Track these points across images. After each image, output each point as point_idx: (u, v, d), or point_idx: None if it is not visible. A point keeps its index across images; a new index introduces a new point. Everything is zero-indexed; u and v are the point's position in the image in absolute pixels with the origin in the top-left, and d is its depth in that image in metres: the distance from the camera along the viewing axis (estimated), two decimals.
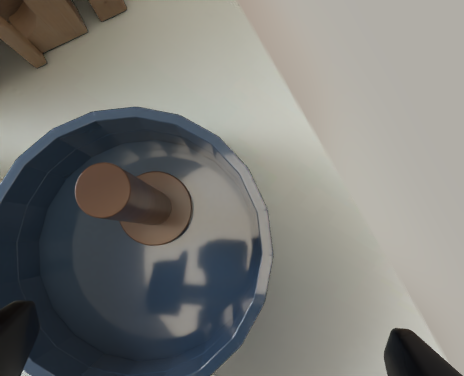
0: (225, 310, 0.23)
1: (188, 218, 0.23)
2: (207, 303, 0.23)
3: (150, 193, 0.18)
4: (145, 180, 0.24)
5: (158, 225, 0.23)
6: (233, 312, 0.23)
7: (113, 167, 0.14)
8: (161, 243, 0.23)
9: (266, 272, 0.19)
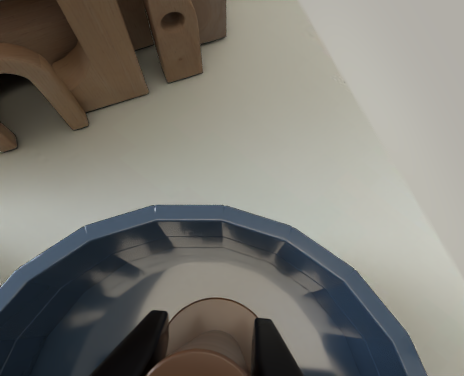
0: None
1: None
2: None
3: None
4: (205, 311, 0.15)
5: None
6: None
7: (226, 365, 0.06)
8: None
9: None
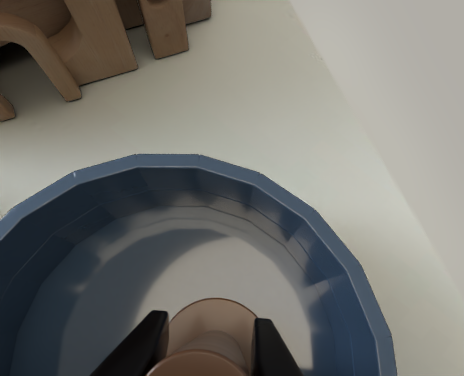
0: None
1: None
2: None
3: None
4: (205, 311, 0.15)
5: None
6: None
7: (226, 366, 0.06)
8: None
9: None
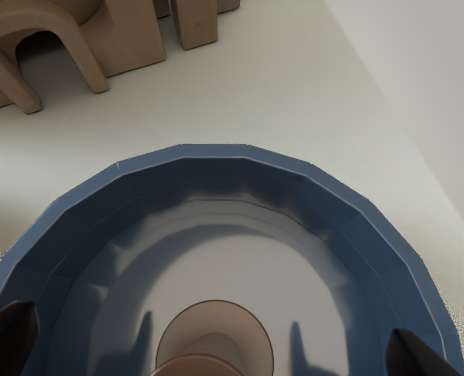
0: None
1: None
2: None
3: None
4: (205, 313, 0.15)
5: None
6: None
7: (226, 370, 0.06)
8: None
9: None
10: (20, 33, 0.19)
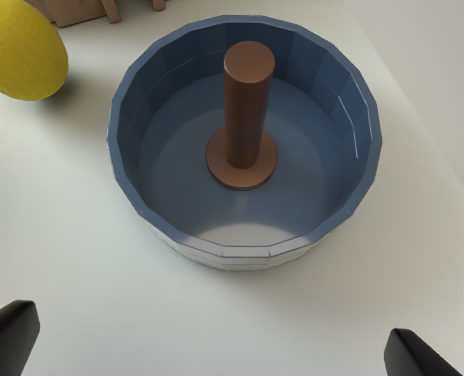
0: (313, 223, 0.23)
1: (273, 166, 0.24)
2: (295, 214, 0.24)
3: None
4: None
5: (244, 169, 0.24)
6: None
7: (260, 45, 0.16)
8: (246, 186, 0.24)
9: (376, 154, 0.20)
10: None
